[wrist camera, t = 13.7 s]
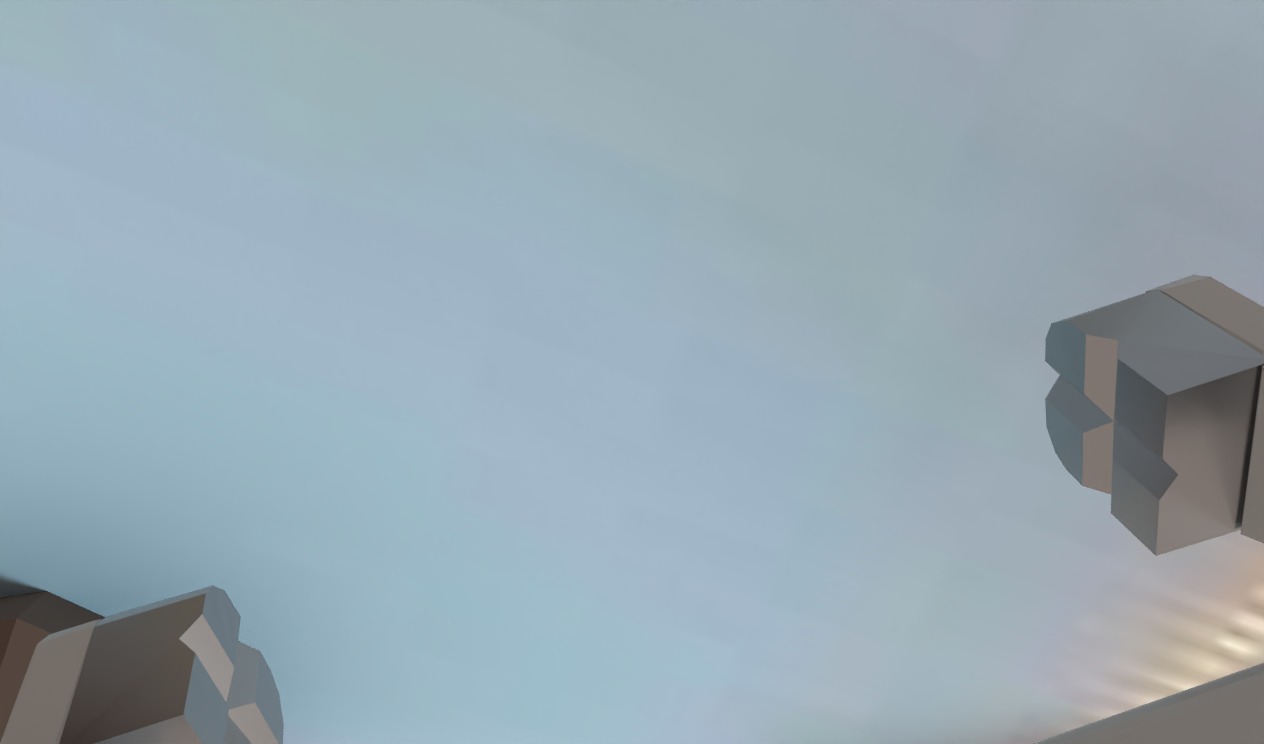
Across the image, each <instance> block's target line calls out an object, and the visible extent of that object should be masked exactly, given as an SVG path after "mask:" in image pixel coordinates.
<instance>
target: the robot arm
mask: <svg viewBox="0 0 1264 744" xmlns="http://www.w3.org/2000/svg"><path fill="white" fill-rule="evenodd" d="M1045 361H1046V362H1047V363H1048V364H1049V365H1050V366H1051V367H1052V368H1053V369H1054V370H1055V371H1056V372H1057V373H1058V374H1059V375H1060V376H1059V377H1058V379H1057V381H1056V382H1055V384H1054V385H1053V387H1052V389H1051V390H1050V392H1049V394H1048V395H1047V397H1046V399H1045V403H1046V426H1047V430H1048V433H1049V435H1050V438H1051V441H1052V444H1053V447H1054V450H1055V453H1056V454H1057V456H1058V457H1059V459H1060V460H1061V462H1062V463H1063V465H1064V467H1065V468H1066V470H1067V471H1068V472H1069V473H1070V474H1071V475H1072V476H1073V477H1074V478H1075V479H1076V480H1077V481H1078V482H1079V483H1080V484H1081V485H1082V486H1085V487H1088V488H1092V489H1095V490H1098V491H1101V492H1105V493H1108V494H1111V514H1112V515H1113V516H1114V517H1115V518H1117V519H1118V520H1119V521H1120V522H1121V523H1122V524H1123V525H1124V526H1125V527H1126V528H1127V529H1128V530H1129V531H1130V532H1131V533H1132V534H1133V535H1134V536H1136V537H1137V538H1138V539H1139V540H1140V541H1141V542H1142V543H1143V544H1144V545H1145V546H1146V547H1147V548H1148V549H1149V550H1150V551H1151V552H1152V553H1153V554H1155V555H1156V556H1157V555H1160V554H1163V553H1167V552H1170V551H1173V550H1176V549H1179V548H1183V547H1186V546H1189V545H1192V544H1196V543H1199V542H1202V541H1205V540H1209V539H1212V538H1215V537H1218V536H1222V535H1225V534H1228V533H1231V532H1235V531H1238V530H1241V534H1242V535H1245V536H1247V537H1250V538H1252V539H1255V540H1257V541H1260V542H1262V543H1264V307H1263V306H1261V305H1259V304H1257V303H1255V302H1254V301H1252V300H1250V299H1248V298H1247V297H1245V296H1243V295H1241V294H1240V293H1238V292H1236V291H1234V290H1233V289H1231V288H1229V287H1227V286H1226V285H1224V284H1222V283H1220V282H1219V281H1217V280H1215V279H1213V278H1212V277H1208V276H1200V275H1191V276H1188V277H1186V278H1183V279H1180V280H1177V281H1174V282H1171V283H1168V284H1165V285H1163V286H1160V287H1157V288H1154V289H1151V290H1148V291H1146V293H1144V294H1141V295H1138V296H1135V297H1131V298H1128V299H1125V300H1122V301H1119V302H1116V303H1113V304H1110V305H1107V306H1104V307H1101V308H1098V309H1095V310H1091V311H1088V312H1085V313H1082V314H1079V315H1076V316H1073V317H1070V318H1067V319H1064V320H1061V321H1058V322H1055V323H1051V326H1050V328H1049V331H1048V334H1047V337H1046V350H1045ZM239 626H240V615H239V613H238V612H237V610H236V608H235V607H234V605H233V604H232V602H231V600H230V599H229V597H228V595H227V594H226V592H225V591H224V590H222V589H220V588H217V587H215V586H210V587H207V588H203V589H200V590H197V591H193V592H190V593H186V594H183V595H179V596H176V597H173V598H169V599H166V600H162V601H159V602H155V603H152V604H149V605H145V606H142V607H138V608H135V609H131V610H128V611H125V612H121V613H118V614H114V615H111V616H107V617H105V618H104V619H100V620H94V621H91V622H88V623H85V624H82V625H78V626H75V627H72V628H69V629H66V630H62V631H59V632H56V633H53V634H50V635H48V636H47V637H46V638H44V639H43V640H42V641H40V642H39V643H38V644H37V646H36V648H35V650H34V653H33V656H32V658H31V661H30V664H29V666H28V669H27V672H26V674H25V677H24V680H23V682H22V685H21V688H20V691H19V693H18V696H17V699H16V701H15V704H14V707H13V709H12V712H11V715H10V717H9V720H8V723H7V725H6V728H5V731H4V734H3V736H2V739H1V742H0V744H283V726H284V724H283V717H282V711H281V704H280V698H279V693H278V690H277V687H276V684H275V682H274V679H273V676H272V673H271V671H270V669H269V667H268V665H267V663H266V661H265V659H264V658H263V656H262V654H261V652H260V651H259V650H256V649H254V648H252V647H250V646H248V645H245V644H243V643H241V642H239V641H238V634H239ZM1034 744H1264V663H1262V664H1259V665H1256V666H1253V667H1250V668H1247V669H1245V670H1242V671H1239V672H1236V673H1233V674H1230V675H1227V676H1225V677H1222V678H1219V679H1216V680H1213V681H1210V682H1208V683H1205V684H1202V685H1199V686H1196V687H1193V688H1191V689H1188V690H1185V691H1182V692H1179V693H1176V694H1173V695H1171V696H1168V697H1165V698H1162V699H1159V700H1156V701H1154V702H1151V703H1148V704H1145V705H1142V706H1139V707H1137V708H1134V709H1131V710H1128V711H1125V712H1122V713H1119V714H1117V715H1114V716H1111V717H1108V718H1105V719H1102V720H1100V721H1097V722H1094V723H1091V724H1088V725H1085V726H1083V727H1080V728H1077V729H1074V730H1071V731H1068V732H1066V733H1063V734H1060V735H1057V736H1054V737H1051V738H1048V739H1046V740H1043V741H1040V742H1037V743H1034Z"/></svg>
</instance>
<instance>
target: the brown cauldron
mask: <svg viewBox="0 0 1264 744" xmlns="http://www.w3.org/2000/svg"><path fill="white" fill-rule="evenodd" d="M104 618H105V617H103V616H101V615H99V614H96V613H94V612H92V611H90V610H87V609H85V608H83V607H81V606H79V605H76V604H74V603H72V602H70V601H68V600H65V599H63V598H61V597H59V596H56V595H54V594H52V593H50V592H48V591H45V592H38V593H31V594H24V595H17V596H10V597H3V598H0V742H1V739H2V736H3V734H4V731H5V728H6V725H7V723H8V720H9V717H10V715H11V712H12V709H13V707H14V704H15V701H16V699H17V696H18V693H19V691H20V688H21V685H22V682H23V680H24V677H25V674H26V672H27V669H28V666H29V664H30V661H31V658H32V656H33V653H34V650H35V648H36V646H37V644H38V643H39V642H40V641H42V640H43V639H44V638H46V637H47V636H48V635H50V634H53V633H56V632H59V631H62V630H66V629H69V628H72V627H75V626H78V625H82V624H85V623H88V622H91V621H94V620H100V619H104Z"/></svg>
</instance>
